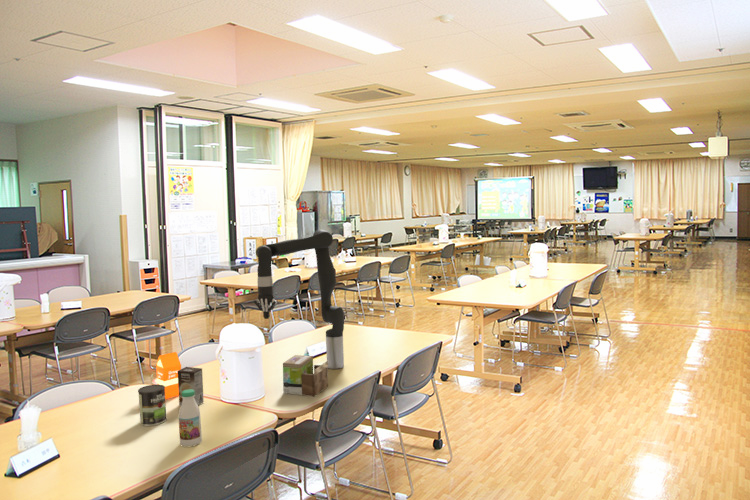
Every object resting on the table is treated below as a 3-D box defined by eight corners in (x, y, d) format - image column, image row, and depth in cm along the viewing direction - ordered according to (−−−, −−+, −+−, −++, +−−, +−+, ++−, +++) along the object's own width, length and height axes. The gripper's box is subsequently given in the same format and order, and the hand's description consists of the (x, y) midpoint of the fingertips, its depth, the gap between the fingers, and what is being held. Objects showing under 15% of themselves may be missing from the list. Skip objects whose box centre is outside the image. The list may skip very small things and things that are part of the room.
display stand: (315, 384, 266) (314, 360, 265) (329, 385, 264) (328, 360, 263) (302, 395, 252) (301, 369, 251) (316, 396, 250) (315, 370, 249)
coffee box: (178, 405, 243) (176, 370, 242) (187, 400, 249) (185, 366, 248) (195, 407, 240) (193, 372, 239) (204, 402, 246) (202, 367, 245)
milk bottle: (183, 439, 207) (180, 388, 205) (204, 438, 207) (201, 386, 206) (177, 448, 199) (174, 395, 197) (199, 446, 200) (196, 393, 198)
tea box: (303, 395, 252) (301, 363, 251) (282, 393, 255) (281, 362, 253) (314, 384, 267) (313, 355, 266) (295, 383, 269) (293, 354, 268)
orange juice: (183, 394, 258) (180, 353, 256) (165, 399, 252) (162, 357, 250) (175, 390, 263) (172, 350, 262) (157, 395, 257) (154, 354, 255)
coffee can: (172, 419, 227) (170, 386, 226) (150, 428, 218) (148, 394, 217) (156, 414, 232) (154, 382, 231) (134, 423, 224) (132, 390, 223)
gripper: (249, 285, 274) (251, 319, 275) (273, 286, 270) (274, 320, 271) (257, 283, 281) (259, 316, 282) (280, 284, 277) (281, 317, 278)
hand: (266, 318), depth 277 cm, fingers closed
